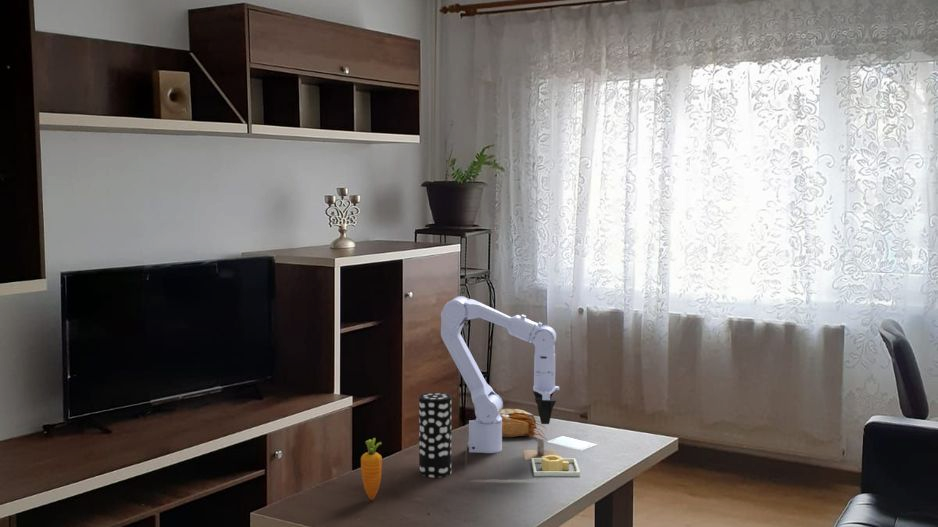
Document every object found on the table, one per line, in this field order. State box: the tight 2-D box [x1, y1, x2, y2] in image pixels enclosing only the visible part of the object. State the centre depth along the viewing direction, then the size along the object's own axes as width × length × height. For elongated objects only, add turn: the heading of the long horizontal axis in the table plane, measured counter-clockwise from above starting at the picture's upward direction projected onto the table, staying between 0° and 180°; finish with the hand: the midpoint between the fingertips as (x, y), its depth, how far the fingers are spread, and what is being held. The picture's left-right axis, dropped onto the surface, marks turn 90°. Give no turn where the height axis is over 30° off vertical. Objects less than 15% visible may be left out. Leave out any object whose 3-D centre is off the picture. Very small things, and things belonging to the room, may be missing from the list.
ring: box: [541, 455, 570, 471], centre depth 240 cm, size 5×7×3 cm
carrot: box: [360, 437, 383, 501], centre depth 219 cm, size 5×5×15 cm
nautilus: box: [499, 408, 548, 441], centre depth 271 cm, size 8×22×15 cm
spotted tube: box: [418, 392, 453, 478], centre depth 239 cm, size 8×8×20 cm
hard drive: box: [546, 435, 598, 452], centre depth 264 cm, size 2×8×12 cm
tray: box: [531, 457, 581, 477], centre depth 241 cm, size 12×12×2 cm
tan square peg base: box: [522, 437, 558, 461], centre depth 252 cm, size 9×9×5 cm
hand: (544, 420), depth 254 cm, fingers open, 7 cm apart
